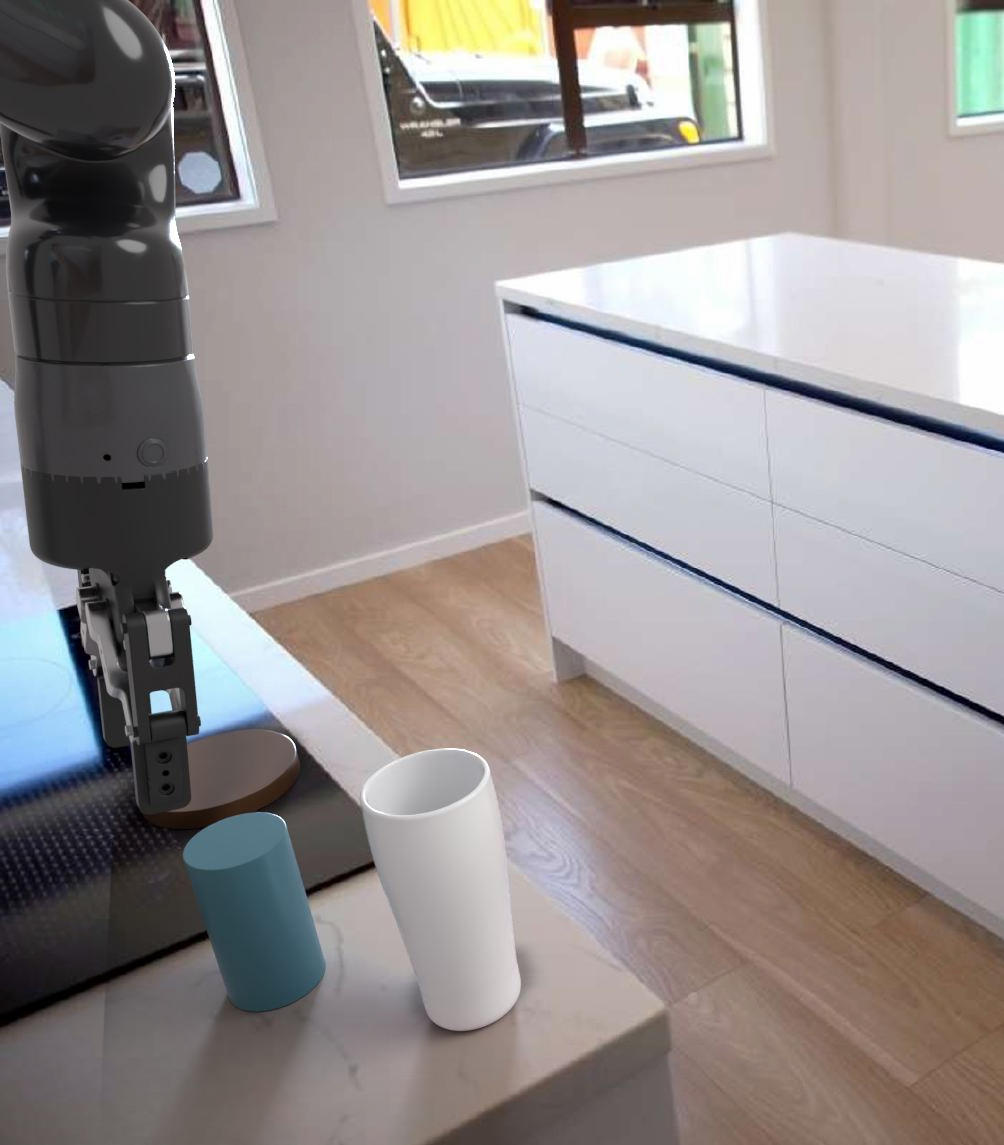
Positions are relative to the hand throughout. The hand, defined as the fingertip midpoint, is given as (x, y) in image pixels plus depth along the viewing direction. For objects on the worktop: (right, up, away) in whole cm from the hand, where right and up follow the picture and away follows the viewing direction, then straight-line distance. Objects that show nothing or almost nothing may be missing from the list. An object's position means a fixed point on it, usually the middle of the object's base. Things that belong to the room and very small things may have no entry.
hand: (146, 774), depth 64 cm
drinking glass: (+13, -15, +10) cm, 22 cm away
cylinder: (+1, -14, +13) cm, 19 cm away
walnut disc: (-12, -6, +32) cm, 35 cm away
